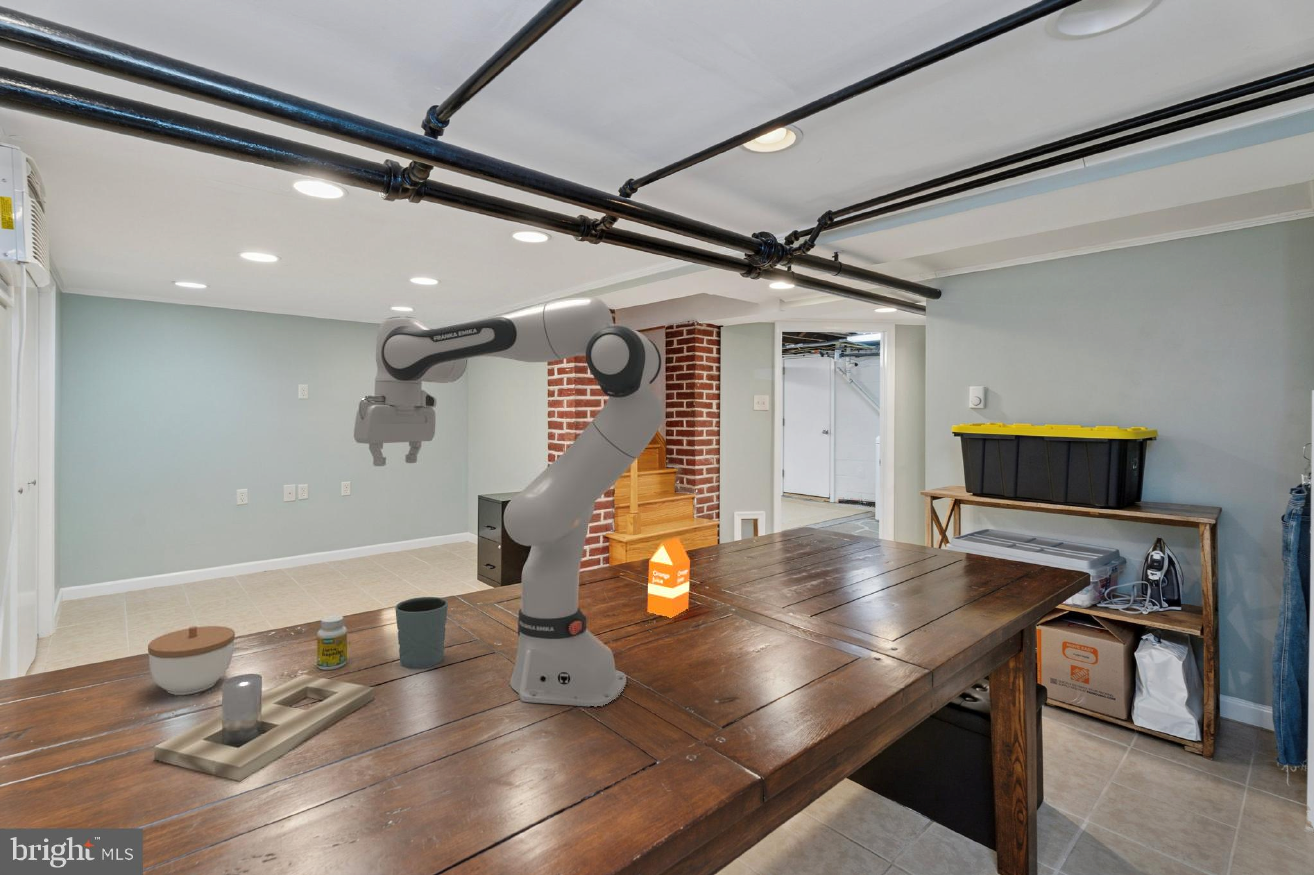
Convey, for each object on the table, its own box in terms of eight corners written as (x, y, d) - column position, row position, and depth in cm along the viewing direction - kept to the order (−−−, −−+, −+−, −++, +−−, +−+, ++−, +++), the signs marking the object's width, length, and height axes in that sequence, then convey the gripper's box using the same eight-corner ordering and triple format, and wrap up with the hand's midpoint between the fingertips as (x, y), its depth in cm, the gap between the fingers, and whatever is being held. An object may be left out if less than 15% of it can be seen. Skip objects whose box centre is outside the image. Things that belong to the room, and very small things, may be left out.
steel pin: (269, 739, 94) (269, 676, 94) (239, 756, 89) (239, 690, 89) (244, 733, 95) (244, 671, 95) (213, 750, 91) (213, 685, 90)
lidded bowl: (250, 678, 115) (250, 621, 114) (179, 708, 103) (179, 644, 102) (204, 667, 119) (204, 612, 119) (130, 694, 107) (130, 633, 107)
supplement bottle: (345, 657, 126) (346, 612, 125) (348, 667, 121) (349, 620, 121) (315, 662, 123) (316, 616, 122) (317, 672, 118) (318, 624, 118)
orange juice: (688, 612, 163) (691, 539, 162) (671, 621, 155) (674, 544, 155) (664, 606, 167) (666, 535, 166) (646, 615, 159) (649, 540, 159)
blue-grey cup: (456, 656, 128) (458, 601, 128) (419, 674, 119) (421, 614, 119) (421, 647, 132) (422, 593, 132) (383, 664, 123) (384, 606, 123)
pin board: (374, 698, 109) (374, 687, 109) (239, 781, 84) (239, 766, 83) (302, 685, 113) (303, 674, 113) (154, 759, 88) (154, 746, 88)
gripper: (374, 395, 112) (371, 469, 113) (441, 399, 132) (439, 462, 133) (346, 394, 114) (344, 466, 115) (417, 398, 134) (414, 460, 134)
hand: (395, 464), depth 124 cm, fingers open, 8 cm apart
